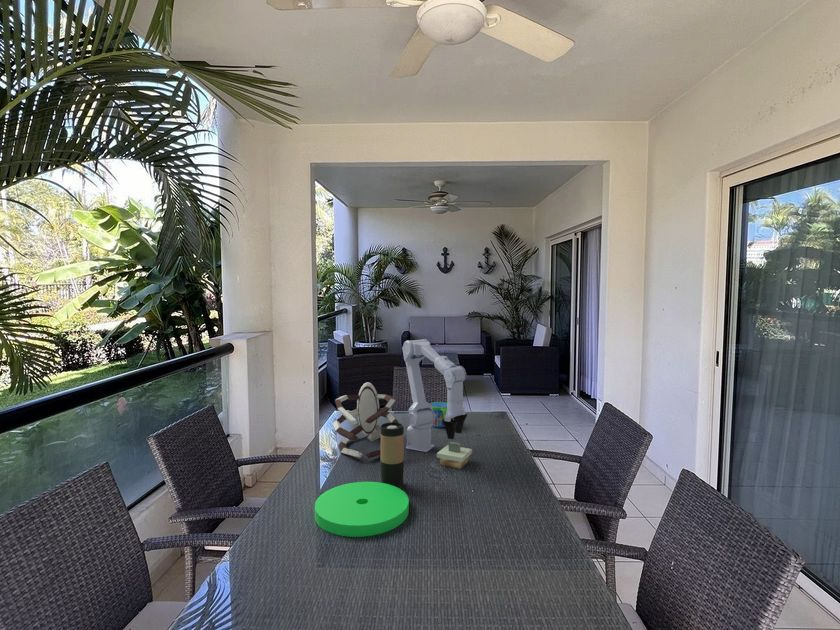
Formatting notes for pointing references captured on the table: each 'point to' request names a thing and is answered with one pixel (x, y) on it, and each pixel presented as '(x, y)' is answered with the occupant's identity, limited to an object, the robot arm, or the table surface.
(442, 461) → the box
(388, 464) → the travel mug
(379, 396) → the decorative sculpture
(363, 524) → the disc
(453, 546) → the table surface
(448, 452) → the lid
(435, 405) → the snack cup
